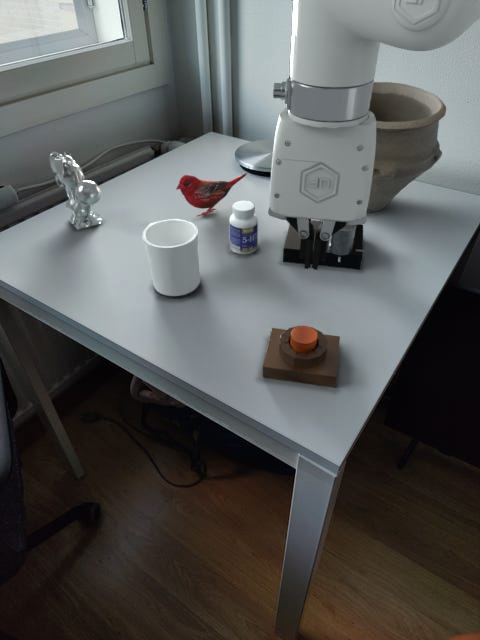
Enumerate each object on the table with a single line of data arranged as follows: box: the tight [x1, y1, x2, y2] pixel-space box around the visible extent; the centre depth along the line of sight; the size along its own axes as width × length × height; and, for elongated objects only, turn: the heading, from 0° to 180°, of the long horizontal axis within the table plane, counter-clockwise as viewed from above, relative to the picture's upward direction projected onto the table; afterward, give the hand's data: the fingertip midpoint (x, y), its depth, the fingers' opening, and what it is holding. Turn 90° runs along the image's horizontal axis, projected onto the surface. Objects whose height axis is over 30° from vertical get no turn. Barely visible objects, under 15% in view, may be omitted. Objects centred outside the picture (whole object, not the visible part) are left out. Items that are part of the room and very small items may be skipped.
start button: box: [290, 325, 318, 353], centre depth 63 cm, size 4×4×2 cm
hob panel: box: [282, 219, 365, 271], centre depth 86 cm, size 14×14×3 cm
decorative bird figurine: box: [175, 173, 248, 217], centre depth 97 cm, size 3×18×10 cm, turn 127°
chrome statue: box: [48, 151, 103, 230], centre depth 92 cm, size 15×6×15 cm, turn 39°
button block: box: [262, 325, 341, 388], centre depth 65 cm, size 10×8×4 cm
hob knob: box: [328, 225, 356, 255], centre depth 81 cm, size 4×4×5 cm
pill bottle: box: [229, 200, 259, 255], centre depth 86 cm, size 5×5×9 cm
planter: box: [367, 81, 447, 213], centre depth 94 cm, size 25×24×22 cm
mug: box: [141, 218, 201, 299], centre depth 78 cm, size 11×9×10 cm
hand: (311, 262), depth 55 cm, fingers closed
